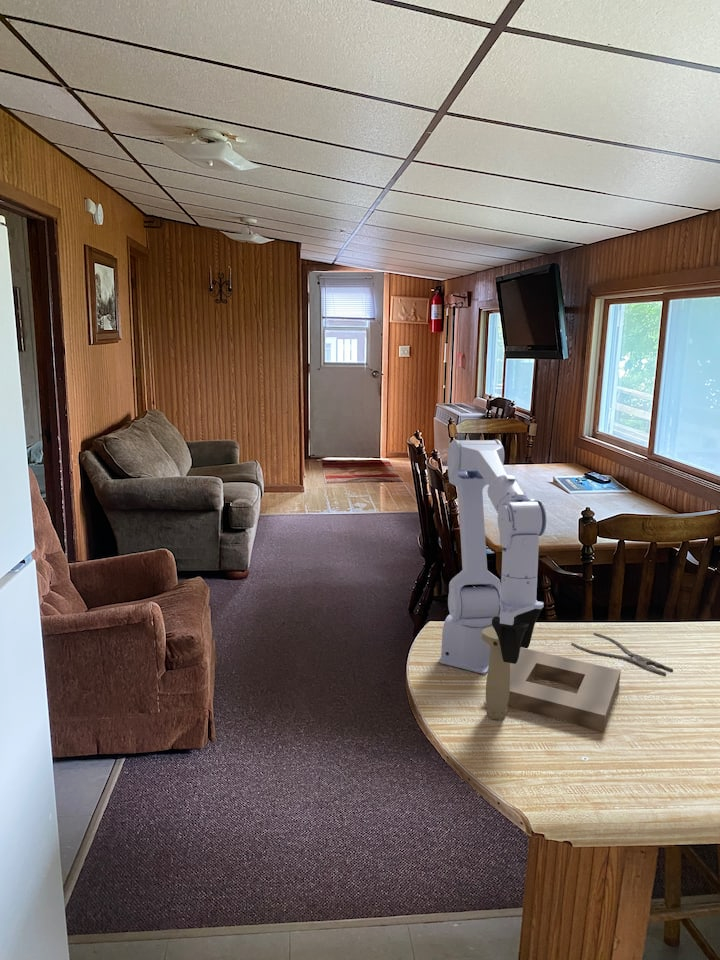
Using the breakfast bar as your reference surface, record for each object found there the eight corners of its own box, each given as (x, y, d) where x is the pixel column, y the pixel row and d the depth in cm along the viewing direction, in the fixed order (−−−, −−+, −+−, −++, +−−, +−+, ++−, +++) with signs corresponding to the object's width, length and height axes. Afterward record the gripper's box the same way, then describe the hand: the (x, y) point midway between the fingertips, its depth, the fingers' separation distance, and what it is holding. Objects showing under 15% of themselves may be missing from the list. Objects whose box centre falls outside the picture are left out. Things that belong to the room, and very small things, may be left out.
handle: (484, 704, 124) (489, 624, 121) (519, 715, 121) (525, 634, 117) (472, 716, 120) (477, 634, 117) (508, 728, 117) (514, 644, 113)
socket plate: (486, 700, 125) (487, 685, 125) (513, 660, 141) (514, 646, 140) (603, 732, 116) (605, 715, 116) (619, 685, 132) (620, 670, 131)
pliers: (586, 629, 155) (682, 657, 143) (586, 633, 155) (682, 661, 143) (568, 644, 148) (668, 674, 135) (568, 647, 148) (667, 678, 136)
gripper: (533, 588, 107) (529, 674, 108) (553, 567, 119) (550, 644, 121) (488, 582, 110) (485, 665, 112) (512, 562, 123) (509, 637, 124)
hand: (516, 654), depth 117 cm, fingers open, 7 cm apart
